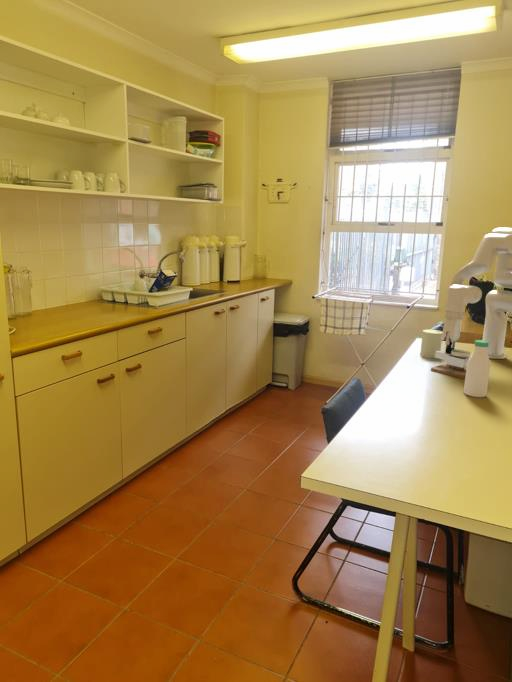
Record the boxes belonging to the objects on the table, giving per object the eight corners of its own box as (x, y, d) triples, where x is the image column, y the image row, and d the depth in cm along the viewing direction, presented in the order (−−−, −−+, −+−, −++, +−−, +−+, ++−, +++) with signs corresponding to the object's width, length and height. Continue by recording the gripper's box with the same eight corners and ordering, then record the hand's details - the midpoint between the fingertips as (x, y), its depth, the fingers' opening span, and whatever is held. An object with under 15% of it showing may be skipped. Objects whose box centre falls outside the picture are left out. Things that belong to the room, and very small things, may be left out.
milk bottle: (488, 398, 181) (496, 344, 176) (465, 396, 182) (472, 342, 178) (483, 392, 188) (490, 339, 184) (461, 390, 190) (468, 338, 185)
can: (443, 357, 237) (446, 332, 234) (423, 357, 237) (426, 332, 234) (436, 352, 246) (439, 328, 243) (417, 352, 246) (420, 328, 243)
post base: (450, 364, 225) (452, 349, 223) (485, 373, 213) (488, 357, 212) (430, 370, 215) (432, 354, 213) (466, 379, 203) (468, 363, 201)
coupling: (440, 357, 224) (441, 344, 222) (471, 365, 213) (473, 351, 212) (431, 360, 219) (432, 346, 218) (462, 367, 208) (464, 354, 207)
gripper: (451, 311, 226) (446, 351, 230) (439, 315, 214) (434, 357, 218) (468, 314, 221) (463, 354, 225) (457, 318, 210) (452, 361, 214)
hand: (449, 356), depth 222 cm, fingers closed
